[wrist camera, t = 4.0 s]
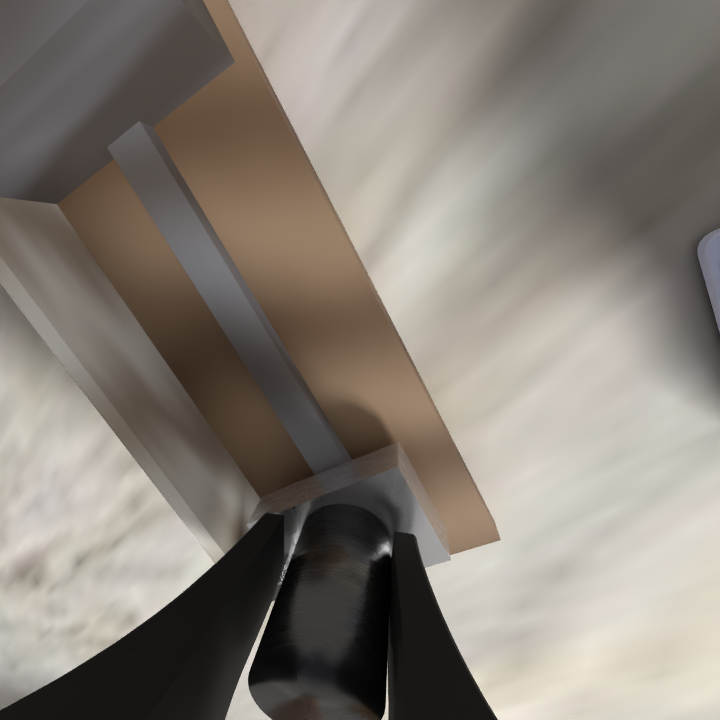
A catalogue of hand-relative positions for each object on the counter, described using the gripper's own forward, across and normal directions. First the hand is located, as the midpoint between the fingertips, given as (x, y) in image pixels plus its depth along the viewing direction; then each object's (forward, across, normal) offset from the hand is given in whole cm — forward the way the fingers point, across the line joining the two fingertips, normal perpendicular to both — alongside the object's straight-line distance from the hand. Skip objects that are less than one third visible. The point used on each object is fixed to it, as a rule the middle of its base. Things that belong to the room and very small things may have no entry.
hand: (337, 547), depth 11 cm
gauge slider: (+2, +1, +1) cm, 2 cm away
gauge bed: (+4, +3, -5) cm, 8 cm away
